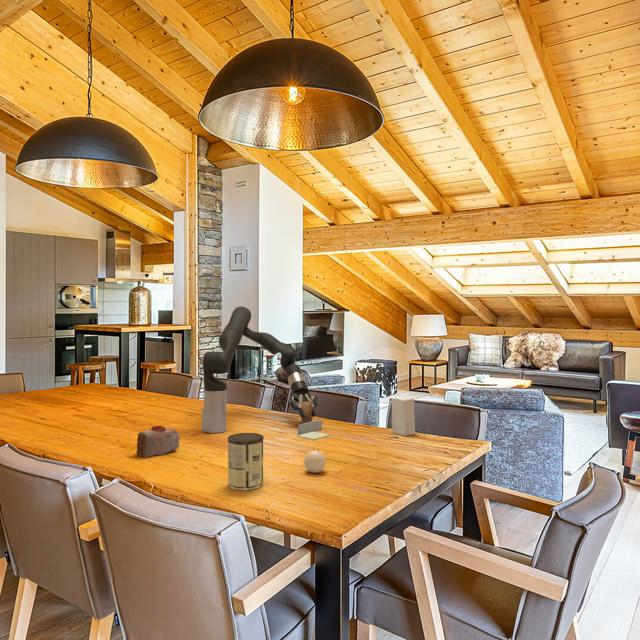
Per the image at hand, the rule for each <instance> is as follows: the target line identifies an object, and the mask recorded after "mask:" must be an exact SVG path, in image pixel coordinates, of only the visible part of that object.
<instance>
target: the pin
mask: <svg viewBox="0 0 640 640" xmlns="http://www.w3.org/2000/svg"><path fill="white" fill-rule="evenodd" d="M311 401H312V400H311ZM311 401H303V402H302V407H301V408H302V409H303V412H304V415H305V416H304V418H301V424H303V423H308V422H312V421H313V417H312V403H313V401H312V402H311Z"/></svg>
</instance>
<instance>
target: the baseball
mask: <svg viewBox="0 0 640 640" xmlns="http://www.w3.org/2000/svg"><path fill="white" fill-rule="evenodd" d="M303 461H304V462H303V463H304V467H305V469H306V470H307V472H310V473H314V474H315V473H316V474H317V473H321V472H322V471H324V470H325V468H326V465H327V458H326V456H325V454H324V453H323V452H321V451H320V450H311V451H309V452H308V453H307V454H306V455H305V456H304V460H303Z"/></svg>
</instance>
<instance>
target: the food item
mask: <svg viewBox="0 0 640 640" xmlns="http://www.w3.org/2000/svg"><path fill="white" fill-rule="evenodd" d="M136 439H137V441H136V442H137V443H136V452H135V453H136V456H140V457H141V458H149V457H154V456H155V457H156V456H163V455H165V454H168V453H172V452H175V451H176V450H177V449H179V447H180V434H179V432H178V431H177V430H176V429H175V428H174V427H172V426H171V427H165V426H163V425H154V426H152V427H151V429H149V430H144V431H140V432H138V434H137V438H136Z"/></svg>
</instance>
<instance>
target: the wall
mask: <svg viewBox="0 0 640 640" xmlns="http://www.w3.org/2000/svg"><path fill="white" fill-rule="evenodd" d="M320 429H321V430H323V419H317V420H312V422H308V423H303V424H302V423H300V424H297V435H301V434H305V433H309V432H313V431H314V432H318V431H321V430H320ZM317 430H318V431H317Z"/></svg>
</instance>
